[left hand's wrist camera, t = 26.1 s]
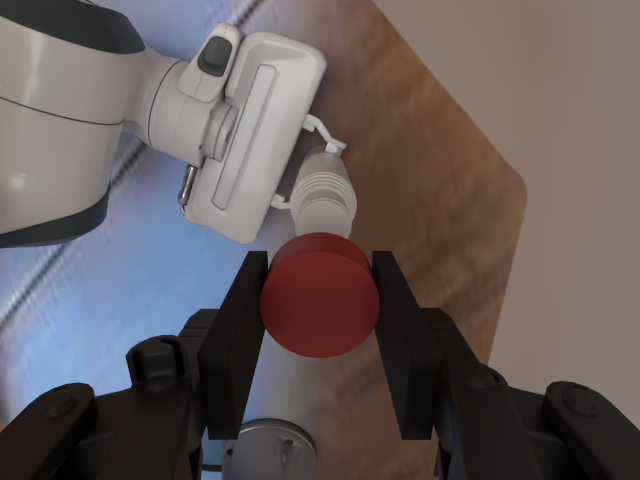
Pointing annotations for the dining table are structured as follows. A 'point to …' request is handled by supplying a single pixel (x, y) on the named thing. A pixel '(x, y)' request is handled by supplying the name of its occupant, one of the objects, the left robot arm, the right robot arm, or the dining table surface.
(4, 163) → the right robot arm
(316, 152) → the bottle
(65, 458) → the left robot arm
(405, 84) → the dining table surface
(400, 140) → the dining table surface
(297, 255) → the cap
